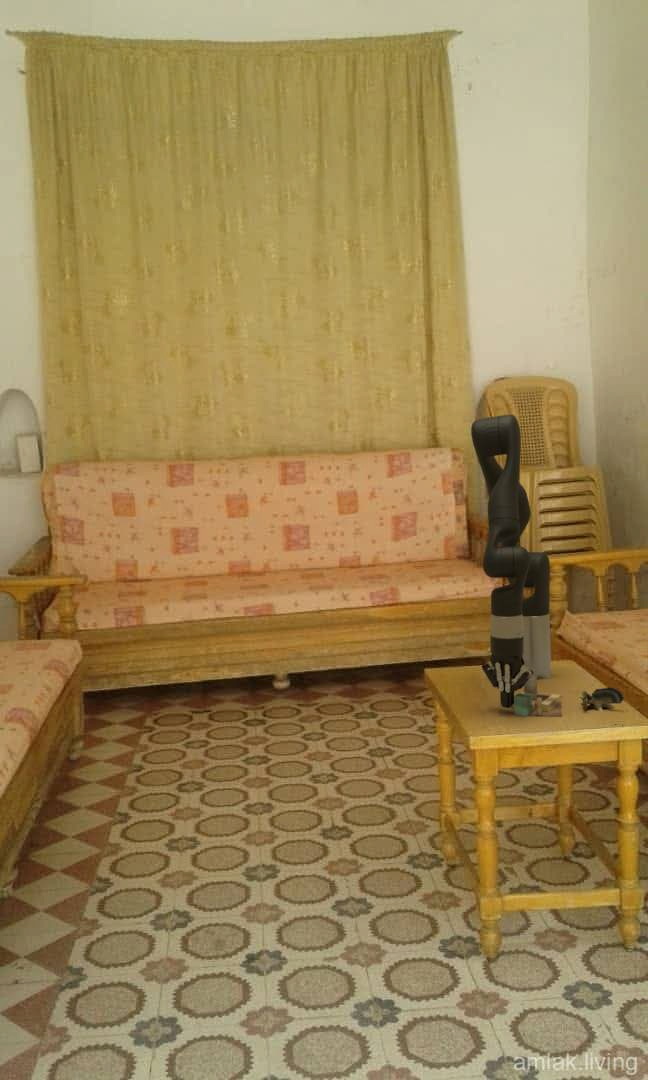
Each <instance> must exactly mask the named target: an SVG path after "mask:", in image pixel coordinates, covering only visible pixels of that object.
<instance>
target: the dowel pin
mask: <svg viewBox="0 0 648 1080" xmlns="http://www.w3.org/2000/svg"><path fill="white" fill-rule="evenodd" d="M537 716H542V698H537Z"/></svg>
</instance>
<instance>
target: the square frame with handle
mask: <svg viewBox="0 0 648 1080" xmlns="http://www.w3.org/2000/svg"><path fill="white" fill-rule="evenodd" d="M562 697H563V696H562V694H558V693H550V692H549V693H548V692H542V691H541V692H540V691H539V692H538V691H537V698H542V712H549V711H550V710H552V709H553V708H555V707H556V706H557V705H559V704H560V703H561V704H562V703H563V699H562ZM511 708H515V715H517V716H516V717H528V716H529V715H530V714H532V713H533V712H534V711H537V701H534V700H532V694H524V691H523V692H518V693H517V694H516V695H514V704H513V705H512V707H511Z"/></svg>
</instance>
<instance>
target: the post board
mask: <svg viewBox="0 0 648 1080" xmlns="http://www.w3.org/2000/svg"><path fill="white" fill-rule="evenodd" d="M523 692H524V694H532V700H534V701H537V692H538V680H537V676H535V675H532V676H531V677H530V678H529V680H528V681H527V682H526V683H525V685H524V686H523ZM498 716H499V717H518V716H517V715H515V708H511V707H509V708H506V707H502V704H501V703H500V708H499V713H498ZM527 717H529V718H530V717H532V718H533V717H534V718H535V717H540V718H541V717H542V718H543V717H545V718H546V717H548V718H550V717H551V718H553V717H555V718H556V717H557V718H562V717H563V707H562V702H561V703H560V704H559V705H557V706H556V707H555V708H553V709H552V710H550V711H549V712H542V716H537V711H534V712H533V713H532V714H530V715H529V716H527Z"/></svg>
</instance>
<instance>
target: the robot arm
mask: <svg viewBox="0 0 648 1080" xmlns="http://www.w3.org/2000/svg"><path fill="white" fill-rule="evenodd" d="M470 428H471V429H470V432H471V434H470V435H471V441H472V445H473V447H474V448H473V449H474V450H475V455H476V458H477V460H478V463H479V465H480V466H479V467H480V468H481V472H482V474H483V478H484V481H485V482H484V483H485V485H486V490H487V494H488V500H487V522H488V523H487V524H488V526H487V527H488V535H487V542H486V546H485V550H484V554H483V556H482V557H483V558H482V562H481V563H482V569H483V572H484V574H485V575H486V576H487V577H489V578H493V579H495V578H496V579H500V578H501V579H502V578H504V579H505V578H506V580H507V581H508V583H509V584H506V585H504V586H500V587H495V588H494V589H492V590H491V594H490V607H491V608H490V622H489V632H490V633H489V639H490V642H489V643H490V644H489V645H490V646H489V647H490V653H491V654H490V657H489V661H488V662H486V663H483V664H481V669H482V671H483V672H484V673H485V675H486V677H487V679H488V681H489V683H490V684H491V685H492V687H494V688H497V689H498V690H499V694H500V697H499V700H500V705H501V704H502V707H506V708H509V707H512V705H513V704H514V696H515V692H516V691H519V690H521V689H522V688H524V685H525V683H526V682H527V681H528V680H529V678H530V677H531V676H532V675H535V676H537V681H538V680H545V679H546V680H547V679H551V678H552V672H551V671H552V669H551V667H552V666H551V665H552V663H551V661H552V660H551V631H550V630H551V624H550V623H551V622H550V601H551V600H550V598H551V597H550V593H551V592H550V584H551V583H550V582H551V581H550V579H551V563H550V562H551V561H550V558H549V556H548V554H547V553H545V552H544V551H543V552H540V551H529V550H528V549H527V548H525V547H524V546H521V545H518V543H519V541H520V538H521V536H522V535H523V533H524V532H525V529H526V528H527V526H528V524H529V521H530V519H531V517H532V516H531V515H532V511H531V506H530V501H529V497H528V494H527V491H526V489H525V487H524V486H523V485H522V484H521V483H520V471H521V453H522V451H521V450H522V436H521V427H520V424H519V421H518V419H517V417H516V416H515V415H514V414H503V415H501V414H500V415H496V416H489V417H483V418H479V419H476V420H474V421H473V423H472V424H471V427H470ZM504 455H506V458H505V464H504V466H503V467H502V466H501V465H500V464H499V463H498V461H497V459H496V456H504ZM499 544H500V546H498V545H499ZM525 588H528V589H529V588H531V589H534V590H533V593H532V595H530V596H528V597H526V598H523V595H524V593H523V592H524V589H525Z"/></svg>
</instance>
